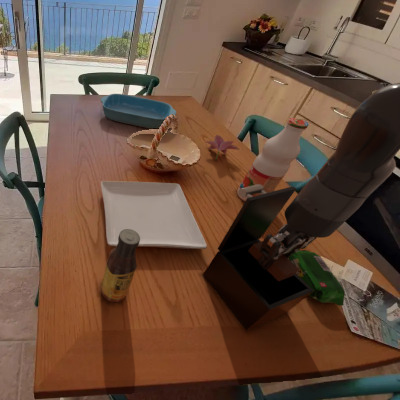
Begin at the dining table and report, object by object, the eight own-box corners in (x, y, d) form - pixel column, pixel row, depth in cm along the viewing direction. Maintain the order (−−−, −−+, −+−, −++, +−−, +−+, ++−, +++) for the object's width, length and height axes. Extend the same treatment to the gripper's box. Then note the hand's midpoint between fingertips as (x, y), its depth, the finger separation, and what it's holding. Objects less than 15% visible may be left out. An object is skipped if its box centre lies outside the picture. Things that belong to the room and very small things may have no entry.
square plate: (106, 253, 72) (107, 244, 69) (99, 188, 92) (100, 179, 90) (204, 255, 73) (209, 246, 70) (176, 190, 93) (179, 182, 91)
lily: (237, 164, 110) (244, 140, 108) (225, 161, 102) (232, 136, 100) (208, 159, 119) (215, 137, 116) (195, 156, 111) (202, 133, 109)
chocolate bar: (292, 276, 55) (299, 269, 53) (278, 281, 54) (285, 274, 52) (261, 246, 60) (266, 239, 59) (247, 250, 59) (253, 243, 58)
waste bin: (287, 312, 62) (314, 290, 56) (246, 330, 59) (269, 309, 52) (240, 261, 72) (258, 238, 66) (202, 274, 69) (217, 251, 62)
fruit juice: (266, 209, 88) (321, 132, 70) (235, 200, 91) (281, 124, 72) (264, 193, 95) (315, 118, 76) (236, 185, 98) (278, 111, 79)
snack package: (303, 255, 75) (315, 243, 71) (340, 309, 63) (356, 298, 60) (277, 253, 75) (288, 241, 72) (310, 307, 63) (324, 296, 60)
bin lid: (296, 188, 55) (274, 173, 59) (250, 200, 51) (229, 184, 55) (260, 238, 65) (243, 223, 69) (219, 251, 61) (203, 234, 65)
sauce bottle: (112, 309, 61) (127, 256, 47) (95, 288, 64) (104, 234, 51) (132, 293, 64) (152, 240, 50) (115, 274, 67) (129, 220, 54)
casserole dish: (173, 116, 139) (178, 102, 134) (170, 136, 123) (174, 121, 118) (105, 103, 146) (107, 90, 142) (93, 120, 130) (95, 106, 126)
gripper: (315, 229, 41) (259, 287, 52) (373, 210, 45) (309, 268, 56) (274, 198, 46) (231, 257, 57) (329, 183, 50) (279, 241, 62)
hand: (270, 262), depth 57 cm, fingers closed on chocolate bar, 4 cm apart
